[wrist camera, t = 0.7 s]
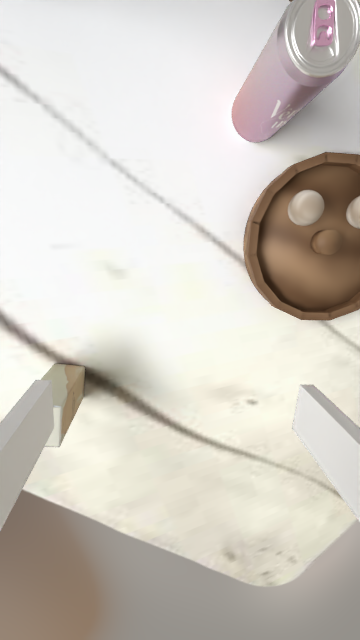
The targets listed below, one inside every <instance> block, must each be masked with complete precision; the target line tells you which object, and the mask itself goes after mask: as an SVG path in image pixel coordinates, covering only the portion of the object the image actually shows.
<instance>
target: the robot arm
mask: <svg viewBox="0 0 360 640" xmlns="http://www.w3.org/2000/svg"><path fill="white" fill-rule="evenodd" d="M53 429H54V415H53V397H52V380H35V382H34V383H33V384H32V385H31V386H30V388H29V389H28V390H27V391H26V392H25V394H24V395H23V396H22V397H21V399H20V400H19V401H18V402H17V403H16V405H15V406H14V407H13V408H12V409H11V411H10V412H9V413H8V414H7V415H6V417H5V418H4V419H3V420H2V422H1V423H0V531H1V529H2V527H3V525H4V523H5V521H6V519H7V517H8V515H9V513H10V511H11V509H12V507H13V506H14V504H15V502H16V500H17V498H18V496H19V494H20V492H21V490H22V488H23V487H24V485H25V483H26V481H27V479H28V477H29V475H30V473H31V471H32V469H33V467H34V465H35V464H36V462H37V460H38V458H39V456H40V454H41V452H42V450H43V448H44V446H45V444H46V443H47V441H48V439H49V437H50V435H51V433H52V431H53ZM292 429H293V430H294V432H295V433H296V435H297V436H298V437H299V439H300V440H301V441H302V443H303V444H304V446H305V447H306V448H307V450H308V451H309V453H310V454H311V455H312V457H313V458H314V460H315V461H316V462H317V464H318V465H319V466H320V468H321V469H322V471H323V472H324V473H325V475H326V476H327V478H328V479H329V480H330V482H331V483H332V484H333V486H334V487H335V489H336V490H337V491H338V493H339V494H340V496H341V497H342V498H343V500H344V501H345V503H346V504H347V505H348V507H349V508H350V509H351V511H352V512H353V514H354V515H355V516H356V518H357V519H358V521H359V522H360V428H359V427H358V426H357V425H356V424H355V423H354V422H353V421H352V420H351V419H350V418H349V417H348V416H346V415H345V414H344V413H343V412H342V411H341V410H340V409H339V408H338V407H337V406H336V405H335V404H334V403H332V402H331V401H330V400H329V399H328V398H327V397H326V396H325V395H324V394H323V393H322V392H321V391H319V390H318V389H317V388H316V387H315V386H314V385H300V388H299V393H298V399H297V404H296V410H295V415H294V420H293V426H292Z"/></svg>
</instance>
